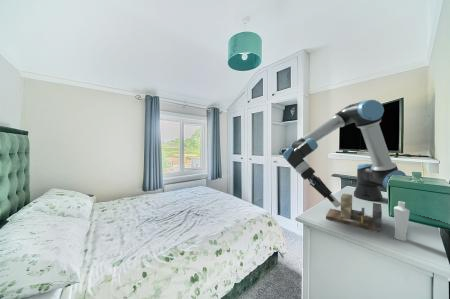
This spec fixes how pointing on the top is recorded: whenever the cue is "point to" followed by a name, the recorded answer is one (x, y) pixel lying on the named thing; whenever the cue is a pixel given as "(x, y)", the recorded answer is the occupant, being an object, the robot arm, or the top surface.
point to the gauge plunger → (347, 206)
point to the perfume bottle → (401, 221)
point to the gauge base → (359, 218)
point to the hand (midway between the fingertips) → (338, 206)
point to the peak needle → (362, 215)
